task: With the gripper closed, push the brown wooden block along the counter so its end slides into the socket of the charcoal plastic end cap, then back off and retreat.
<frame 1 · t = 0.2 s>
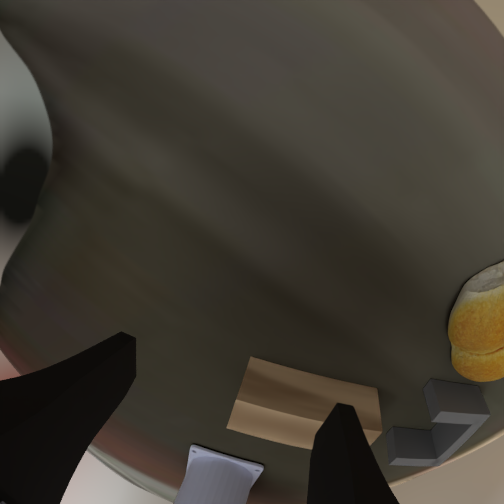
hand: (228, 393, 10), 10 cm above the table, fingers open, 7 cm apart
bread roll: (489, 313, 17), on the table
end cap: (435, 412, 20), on the table
brown wooden block: (308, 388, 22), on the table
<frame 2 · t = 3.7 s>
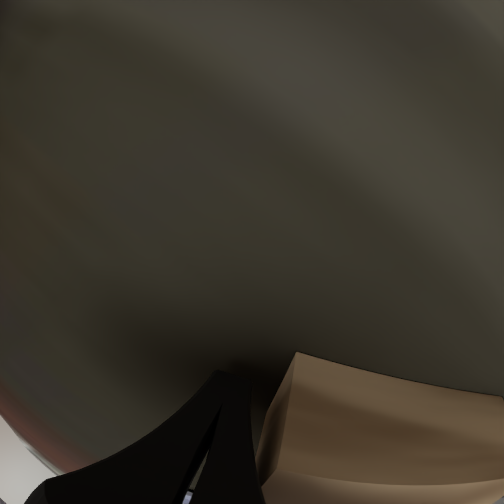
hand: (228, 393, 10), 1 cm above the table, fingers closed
brown wooden block: (397, 412, 10), on the table, touching gripper
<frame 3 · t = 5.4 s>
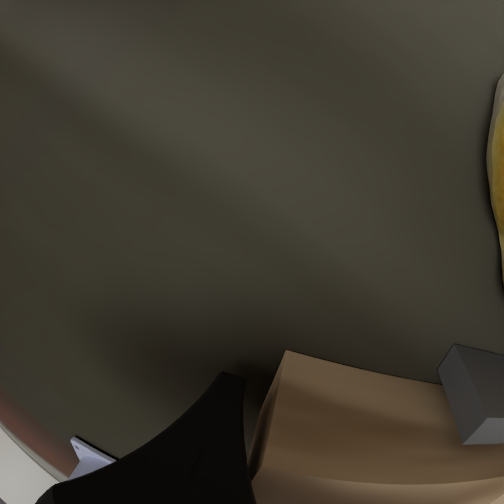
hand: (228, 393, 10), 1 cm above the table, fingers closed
end cap: (457, 419, 10), on the table
brown wooden block: (392, 410, 10), on the table, touching end cap, gripper
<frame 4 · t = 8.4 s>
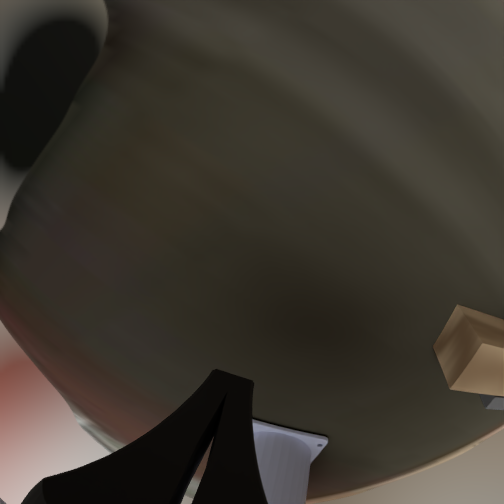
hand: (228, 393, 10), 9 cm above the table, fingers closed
brown wooden block: (491, 338, 17), on the table
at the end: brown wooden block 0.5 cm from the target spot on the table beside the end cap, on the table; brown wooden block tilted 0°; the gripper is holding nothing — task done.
